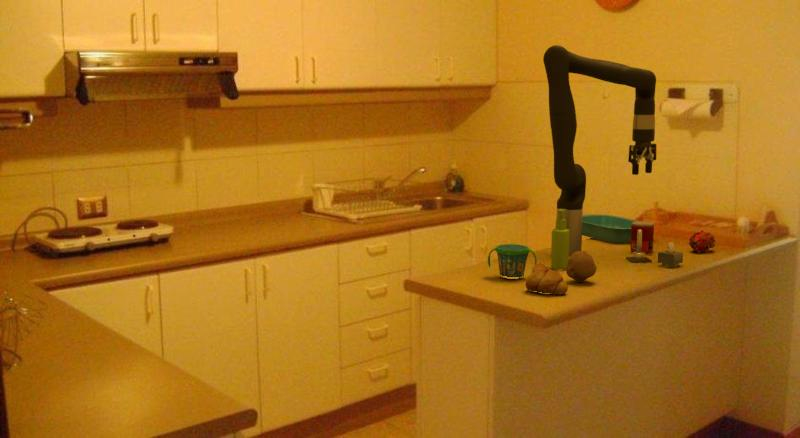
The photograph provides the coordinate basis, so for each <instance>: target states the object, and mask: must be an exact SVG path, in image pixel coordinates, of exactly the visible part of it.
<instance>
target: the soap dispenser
mask: <svg viewBox="0 0 800 438" xmlns="http://www.w3.org/2000/svg"><path fill="white" fill-rule="evenodd" d="M564 211H567V209H559V210H558V211H557V210H556V213H557V212H559V216H558V219H557V218H556V219H555V228H556V229H555V228H552V229H551V248H550V249H551V255H550V257H551V258H550V260H551V261H550V269H552V268H554V269H553V270H557V269H565V270H566V268H567V264H568V260H569V258H570V257H569V234H570V230H568V229H566V219H564Z"/></svg>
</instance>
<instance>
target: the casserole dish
mask: <svg viewBox="0 0 800 438" xmlns="http://www.w3.org/2000/svg"><path fill="white" fill-rule="evenodd" d="M639 221H641V220H636V219H632V218H628V217H624V216H623V217H622V216H618V215H611V214H596V213H595V214H592V213H591V214H583V215H582V236H583V237H587V238H590V239H591V238H592V239H595V240H598V241H603V242H606V243H612V244H620V245H623V244H631V224H632V222H639ZM641 222H643V221H641Z"/></svg>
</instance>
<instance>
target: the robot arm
mask: <svg viewBox="0 0 800 438" xmlns="http://www.w3.org/2000/svg"><path fill="white" fill-rule="evenodd" d="M542 61H543V64H544V69H545V73H546V79H547V85H548V112H549V123H550V129H551V141H552V149H553V150H552V151H553V180H554V183H555V184H556V186H557V188H559V189H560V190H561V193H560V196H559V198H558V199H557V201H556V219H558V216H559V212H557V211H558V210H559V209H567V211H564V219H566V229H568V230H570V234H569V258H570V256H571V255H572V254H573V253H575V252H577V251H583V248H582V245H583V243H582V242H583V237H582V236H583V235H582V215H584V214H583V211H584V202H585V199H586V189H587V188H586V187H587V174H586V171H585V168H584V167H583V166H582V165H580V164H579V163H575V159H574V158H575V156H574V146H575V145H574V144H575V139H576V134H577V127H578V125H577V123H578V122H577V113H576V106H575V101H574V98H573V97H574V96H573V93H572V90H571V89H572V88H571V85H570V74H576V75H581V76H585V77H590V78H592V79H593V78H594V79H596V80H600V81H603V82H607V83H612V84H616V85H621V86H628V87H631V88H633V89H634V90H635V91H634V92H635V94H634V95H635V99H634V105H633V107H634V108H633V118H632V135H631V136H632V137H631V140H632V142H635V143H634V144H633V145H632V144H629V147H628V160H627V161H628V163H631V164H632V165H631V166H632V167H631V174H632V175H634V176H637V175H639V174H640V173H639V172H640V164H639V163H640V161H641V160H643V158H644V161H645V167H644V172H645V173H646V174H651V173H653V163H654V161H656V160H657V143H652V142H654V141H655V135H656V131H655V130H656V116H655V114H656V113H655V112H656V101H655V96H656V85H657V77H656V75H655V73H654V72H653V71H651V70H649V69H646V68H644V69H643V68H639V67H634V66H629V65H626V64H623V63H619V62H614V61H611V60H604V59H597V58H590V57H587V56H586V57H585V56H582V55H578V54H576V53H573V52H571V51H570V50H568V49H566V48H565V47H564V46H562V45H558V44H556V45H552V46H549V47H548V48H547V49H546V50H545V52H544V54H543V60H542ZM554 229H556V227H555V228H554Z"/></svg>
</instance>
